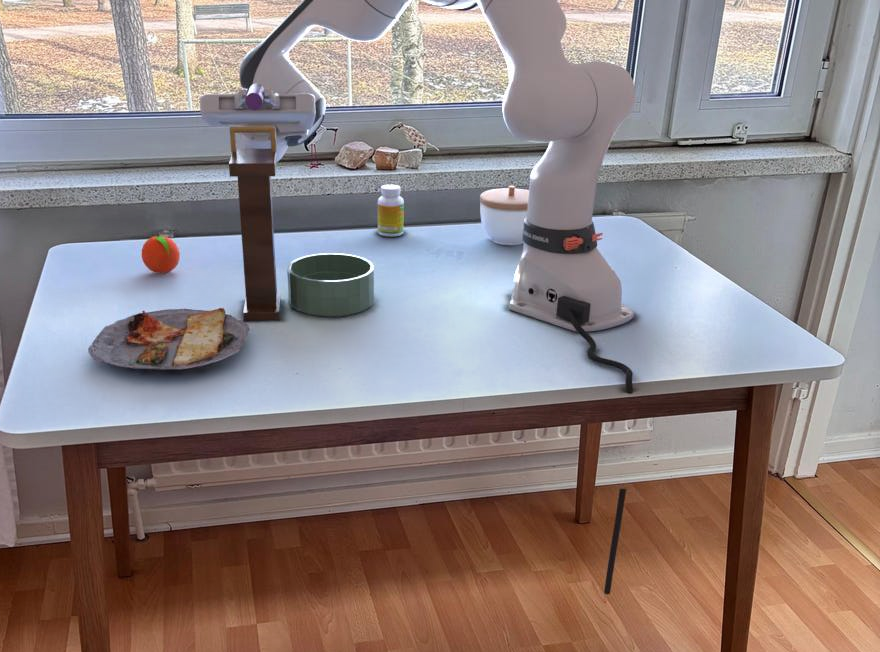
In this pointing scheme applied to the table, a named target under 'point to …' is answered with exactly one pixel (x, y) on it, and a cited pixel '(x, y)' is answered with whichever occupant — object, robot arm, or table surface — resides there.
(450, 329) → the table surface
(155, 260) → the clementine
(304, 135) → the robot arm
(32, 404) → the table surface
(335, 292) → the bowl
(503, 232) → the lidded bowl
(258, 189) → the stand
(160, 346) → the food plate
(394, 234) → the supplement bottle
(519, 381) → the table surface
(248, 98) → the glue stick
